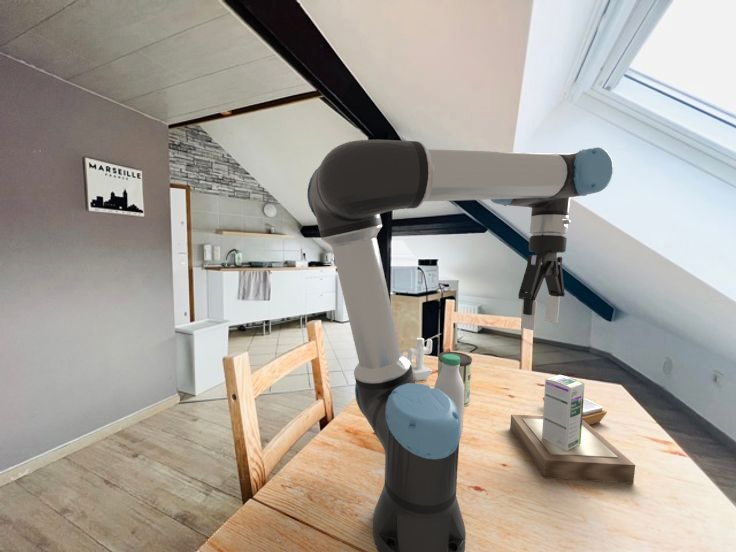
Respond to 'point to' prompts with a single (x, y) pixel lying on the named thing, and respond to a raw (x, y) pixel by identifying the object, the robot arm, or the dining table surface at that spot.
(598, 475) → the pedestal
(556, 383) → the syrup box
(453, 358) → the milk bottle
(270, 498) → the dining table surface
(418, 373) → the figurine
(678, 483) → the dining table surface
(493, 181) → the robot arm
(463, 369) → the coffee can
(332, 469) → the dining table surface
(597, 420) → the soap dish
